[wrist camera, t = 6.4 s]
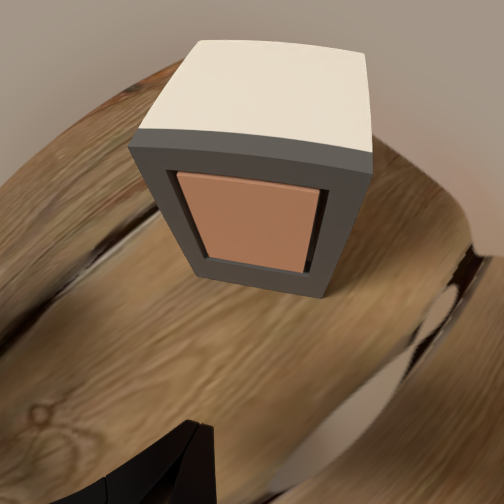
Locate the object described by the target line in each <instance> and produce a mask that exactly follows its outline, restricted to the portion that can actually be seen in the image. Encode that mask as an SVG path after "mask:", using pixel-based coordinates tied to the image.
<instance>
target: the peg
mask: <svg viewBox="0 0 504 504" xmlns="http://www.w3.org/2000/svg"><path fill="white" fill-rule="evenodd" d="M177 178H178V180H179V183H180V186H181V188H182V191H183V193H184V196H185V198H186V201H187V203H188V206H189V208H190V211H191V213H192V216H193V218H194V221H195V223H196V226H197V228H198V231H199V233H200V236H201V238H202V241H203V243H204V245H205V248H206V250H207V253H208V255H209V257H213V258H219V259H224V260H230V261H236V262H242V263H247V264H253V265H259V266H265V267H271V268H276V269H282V270H288V271H294V272H300V273H303V270H304V265H305V261H306V256H307V251H308V246H309V242H310V237H311V232H312V227H313V222H314V217H315V212H316V207H317V202H318V196H319V189H320V188H314V187H307V186H301V185H294V184H288V183H281V182H274V181H266V180H259V179H251V178H243V177H235V176H227V175H218V174H208V173H199V172H188V171H178V173H177Z"/></svg>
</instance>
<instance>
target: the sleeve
mask: <svg viewBox="0 0 504 504" xmlns="http://www.w3.org/2000/svg"><path fill="white" fill-rule="evenodd" d="M127 147H128V149H129V151H130V153H131V155H132V157H133V159H134V161H135V163H136V165H137V167H138V169H139V171H140V173H141V175H142V177H143V178H144V180H145V182H146V184H147V186H148V188H149V190H150V192H151V194H152V196H153V198H154V200H155V202H156V203H157V205H158V207H159V209H160V211H161V213H162V215H163V217H164V218H165V220H166V222H167V224H168V226H169V228H170V230H171V231H172V233H173V235H174V237H175V239H176V240H177V242H178V244H179V246H180V248H181V249H182V251H183V253H184V255H185V257H186V258H187V260H188V262H189V264H190V265H191V267H192V269H193V271H194V273H195V274H196V276H198V277H203V278H208V279H213V280H219V281H224V282H229V283H235V284H240V285H245V286H251V287H256V288H262V289H267V290H273V291H279V292H285V293H290V294H296V295H302V296H308V297H314V298H320V299H322V297H323V295H324V292H325V290H326V288H327V286H328V283H329V281H330V279H331V277H332V274H333V272H334V270H335V268H336V265H337V263H338V261H339V258H340V256H341V254H342V251H343V249H344V247H345V244H346V242H347V239H348V237H349V235H350V232H351V230H352V227H353V225H354V222H355V220H356V217H357V215H358V212H359V210H360V207H361V205H362V202H363V199H364V197H365V194H366V192H367V189H368V186H369V184H370V181H371V178H372V176H373V155H372V132H371V116H370V102H369V91H368V80H367V71H366V63H365V56H364V54H363V53H358V52H352V51H347V50H341V49H334V48H328V47H321V46H313V45H304V44H294V43H283V42H269V41H249V40H202V41H198V43H197V44H196V45H195V47H194V48H193V49H192V50H191V52H190V53H189V54H188V56H187V57H186V58H185V60H184V61H183V62H182V64H181V65H180V66H179V68H178V69H177V71H176V72H175V73H174V75H173V76H172V78H171V79H170V80H169V82H168V83H167V85H166V86H165V88H164V89H163V91H162V92H161V94H160V95H159V97H158V98H157V100H156V101H155V103H154V104H153V106H152V107H151V109H150V110H149V112H148V113H147V115H146V117H145V118H144V120H143V121H142V123H141V125H140V126H139V128H138V129H137V131H136V133H135V134H134V136H133V138H132V140H131V141H130V143H129V145H128V146H127ZM178 171H188V172H199V173H208V174H218V175H227V176H235V177H243V178H251V179H259V180H266V181H274V182H281V183H288V184H294V185H301V186H307V187H314V188H320V189H319V196H318V202H317V207H316V212H315V217H314V222H313V227H312V232H311V237H310V242H309V246H308V251H307V256H306V261H305V265H304V270H303V273H300V272H294V271H288V270H282V269H276V268H271V267H265V266H259V265H253V264H247V263H242V262H236V261H230V260H224V259H219V258H213V257H209V255H208V253H207V250H206V248H205V245H204V243H203V241H202V238H201V236H200V233H199V231H198V228H197V226H196V223H195V221H194V218H193V216H192V213H191V211H190V208H189V206H188V203H187V201H186V198H185V196H184V193H183V191H182V188H181V186H180V183H179V180H178V178H177V173H178Z"/></svg>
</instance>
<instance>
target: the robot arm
mask: <svg viewBox="0 0 504 504" xmlns="http://www.w3.org/2000/svg"><path fill="white" fill-rule="evenodd" d="M49 504H217V497H216V478H215V455H214V428H213V426H211V425H207V424H203V423H201V424H200V423H199V422H196V421H192V420H185V421H184V422H182V423H181V424H180V425H178V426H177V427H176V428H174V429H173V430H172V431H170V432H169V433H167V434H166V435H165V436H163V437H162V438H161V439H159V440H158V441H156V442H155V443H154V444H152V445H151V446H149V447H148V448H146V449H145V450H143V451H142V452H141V453H139V454H138V455H136V456H135V457H133V458H132V459H130V460H129V461H127V462H126V463H124V464H123V465H121V466H120V467H118V468H117V469H115V470H114V471H112V472H111V473H109V474H107V475H106V478H105V477H102V478H101V479H99V480H98V481H96V482H95V483H93V484H91V485H89V486H88V487H86V488H84V489H82V490H80V491H78V492H76V493H74V494H71V495H69V496H67V497H64V498H62V499H59V500H57V501H54V502H52V503H49Z"/></svg>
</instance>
